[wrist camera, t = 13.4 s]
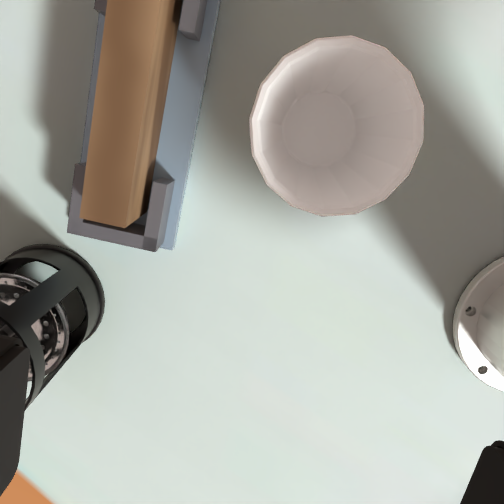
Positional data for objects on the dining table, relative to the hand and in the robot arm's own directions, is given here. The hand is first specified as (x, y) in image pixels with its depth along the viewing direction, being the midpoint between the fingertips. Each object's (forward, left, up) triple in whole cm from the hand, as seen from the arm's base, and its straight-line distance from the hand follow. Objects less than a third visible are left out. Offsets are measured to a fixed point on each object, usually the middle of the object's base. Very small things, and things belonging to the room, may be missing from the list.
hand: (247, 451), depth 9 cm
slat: (+10, -6, -27) cm, 30 cm away
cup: (-3, -7, -28) cm, 30 cm away
